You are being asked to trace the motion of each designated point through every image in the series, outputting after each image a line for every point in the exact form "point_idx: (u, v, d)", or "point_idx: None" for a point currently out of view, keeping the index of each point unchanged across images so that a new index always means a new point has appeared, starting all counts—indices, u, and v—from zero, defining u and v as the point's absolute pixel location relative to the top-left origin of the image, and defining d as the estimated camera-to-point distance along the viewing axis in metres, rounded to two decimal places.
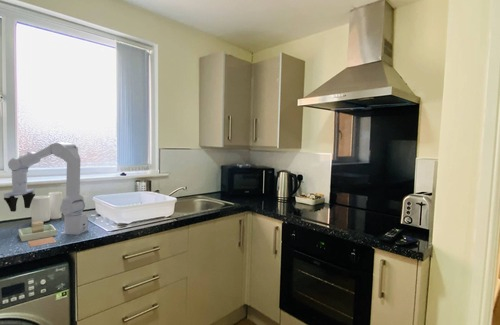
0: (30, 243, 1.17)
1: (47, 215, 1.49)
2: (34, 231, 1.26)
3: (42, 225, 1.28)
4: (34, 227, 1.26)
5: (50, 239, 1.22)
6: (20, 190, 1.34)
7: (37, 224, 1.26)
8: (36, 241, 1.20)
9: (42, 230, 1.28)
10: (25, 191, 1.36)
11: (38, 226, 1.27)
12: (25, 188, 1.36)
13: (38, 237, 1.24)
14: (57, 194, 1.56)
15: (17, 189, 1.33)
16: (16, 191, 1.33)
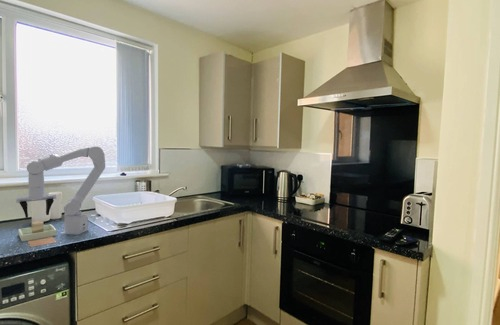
0: (30, 243, 1.17)
1: (47, 215, 1.49)
2: (34, 231, 1.26)
3: (42, 225, 1.28)
4: (34, 227, 1.26)
5: (50, 239, 1.22)
6: (32, 195, 1.24)
7: (37, 224, 1.26)
8: (36, 241, 1.20)
9: (42, 230, 1.28)
10: (37, 197, 1.25)
11: (38, 226, 1.27)
12: (38, 194, 1.25)
13: (38, 237, 1.24)
14: (57, 194, 1.56)
15: (30, 194, 1.25)
16: (29, 196, 1.25)
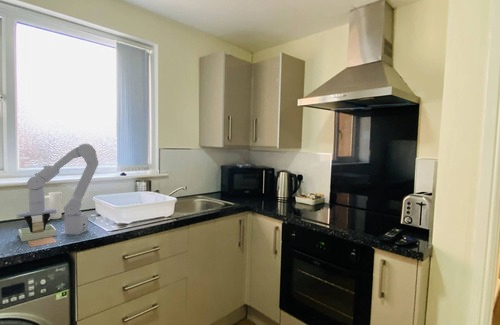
0: (30, 243, 1.17)
1: None
2: (34, 231, 1.26)
3: (42, 225, 1.28)
4: (34, 227, 1.26)
5: (50, 239, 1.22)
6: (32, 211, 1.25)
7: (37, 224, 1.26)
8: (36, 241, 1.20)
9: (42, 230, 1.28)
10: (38, 212, 1.26)
11: (38, 226, 1.27)
12: (38, 209, 1.26)
13: (38, 237, 1.24)
14: (57, 194, 1.56)
15: (30, 209, 1.25)
16: (29, 211, 1.25)
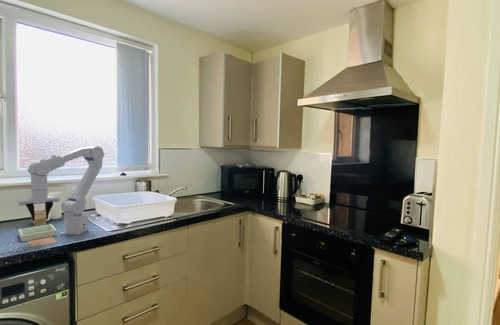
0: (30, 243, 1.17)
1: None
2: (36, 220, 1.20)
3: (44, 214, 1.21)
4: (36, 215, 1.19)
5: (50, 239, 1.22)
6: (34, 198, 1.18)
7: (39, 212, 1.20)
8: (36, 241, 1.20)
9: (44, 219, 1.22)
10: (40, 200, 1.19)
11: (40, 215, 1.20)
12: (41, 196, 1.19)
13: (38, 237, 1.24)
14: (57, 194, 1.56)
15: (32, 197, 1.19)
16: (32, 199, 1.19)
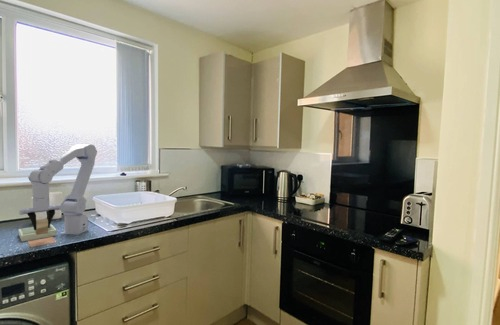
0: (30, 243, 1.17)
1: None
2: (38, 229, 1.17)
3: (46, 222, 1.19)
4: (38, 224, 1.17)
5: (50, 239, 1.22)
6: (36, 207, 1.16)
7: (41, 221, 1.18)
8: (36, 241, 1.20)
9: (46, 228, 1.19)
10: (42, 208, 1.17)
11: (42, 223, 1.18)
12: (43, 205, 1.17)
13: (38, 237, 1.24)
14: (57, 194, 1.56)
15: (34, 205, 1.16)
16: (33, 207, 1.16)
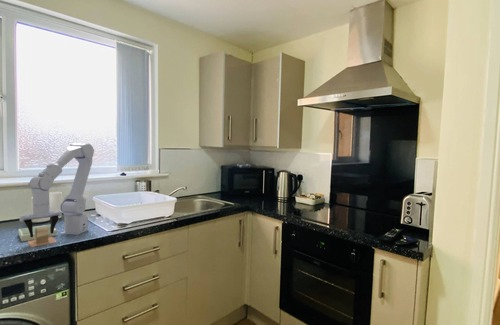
0: (30, 243, 1.17)
1: None
2: (38, 237, 1.17)
3: (47, 231, 1.19)
4: (38, 233, 1.17)
5: (50, 239, 1.22)
6: (36, 213, 1.16)
7: (41, 230, 1.18)
8: None
9: (47, 236, 1.19)
10: (42, 215, 1.17)
11: (43, 232, 1.18)
12: (43, 211, 1.17)
13: None
14: (57, 194, 1.56)
15: (34, 212, 1.16)
16: (33, 214, 1.16)
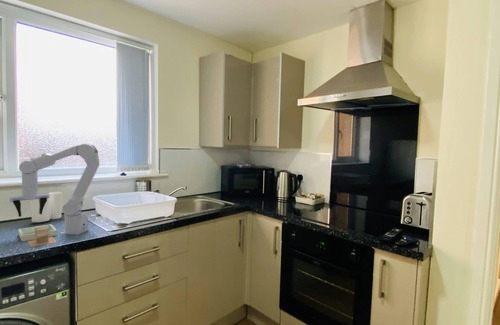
0: (30, 243, 1.17)
1: (47, 215, 1.49)
2: (38, 237, 1.17)
3: (47, 231, 1.19)
4: (38, 233, 1.17)
5: (50, 239, 1.22)
6: (25, 195, 1.26)
7: (41, 230, 1.18)
8: None
9: (47, 236, 1.19)
10: (31, 196, 1.27)
11: (43, 232, 1.18)
12: (31, 193, 1.27)
13: None
14: (57, 194, 1.56)
15: (23, 193, 1.26)
16: (22, 195, 1.26)
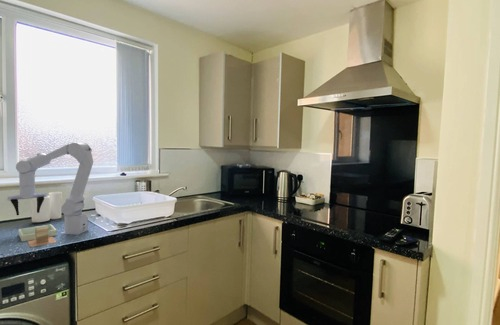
0: (30, 243, 1.17)
1: (47, 215, 1.49)
2: (38, 237, 1.17)
3: (47, 231, 1.19)
4: (38, 233, 1.17)
5: (50, 239, 1.22)
6: (23, 194, 1.29)
7: (41, 230, 1.18)
8: None
9: (47, 236, 1.19)
10: (28, 195, 1.29)
11: (43, 232, 1.18)
12: (28, 192, 1.30)
13: None
14: (57, 194, 1.56)
15: (21, 192, 1.29)
16: (20, 194, 1.29)
